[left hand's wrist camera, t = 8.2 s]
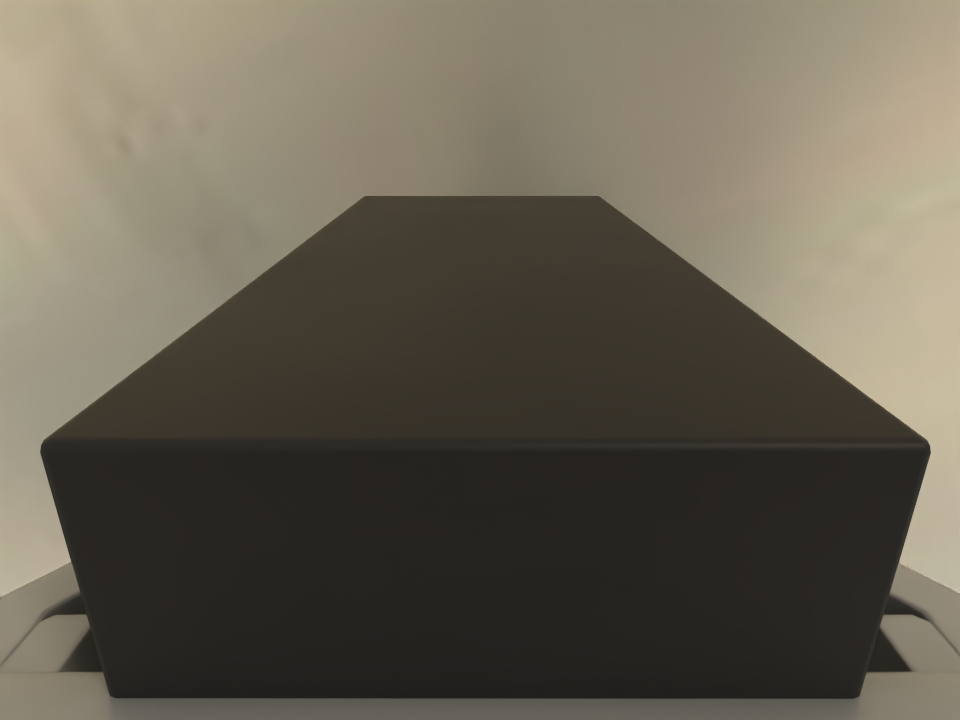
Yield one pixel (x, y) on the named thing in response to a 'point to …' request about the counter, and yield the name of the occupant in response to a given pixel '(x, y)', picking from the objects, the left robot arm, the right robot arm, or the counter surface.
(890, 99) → the counter surface
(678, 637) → the box
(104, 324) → the counter surface
